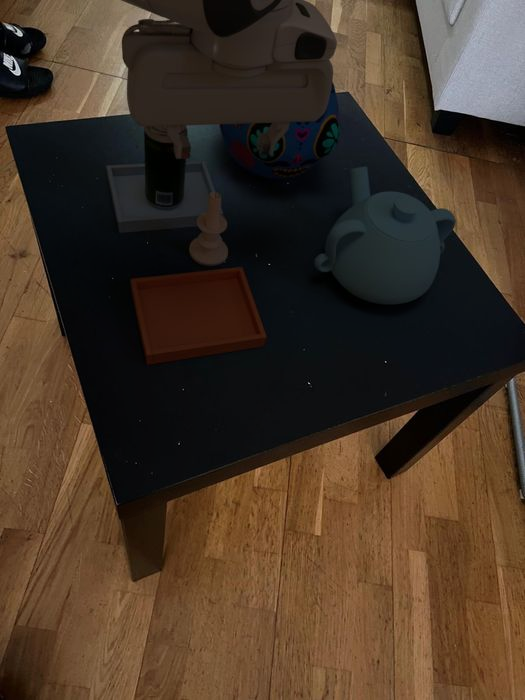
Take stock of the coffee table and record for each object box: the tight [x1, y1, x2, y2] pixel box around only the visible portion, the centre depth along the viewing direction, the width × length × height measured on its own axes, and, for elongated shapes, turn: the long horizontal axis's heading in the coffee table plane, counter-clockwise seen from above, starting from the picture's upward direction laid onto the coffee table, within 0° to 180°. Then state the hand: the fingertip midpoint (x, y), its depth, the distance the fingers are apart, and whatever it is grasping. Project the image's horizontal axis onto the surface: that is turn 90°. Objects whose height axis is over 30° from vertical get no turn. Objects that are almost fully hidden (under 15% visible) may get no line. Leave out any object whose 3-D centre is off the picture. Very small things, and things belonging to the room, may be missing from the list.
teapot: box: [314, 165, 457, 305], centre depth 72 cm, size 20×20×13 cm
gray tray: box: [105, 160, 224, 234], centre depth 76 cm, size 14×11×2 cm
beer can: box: [143, 125, 189, 210], centre depth 71 cm, size 5×5×12 cm
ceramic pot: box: [218, 81, 341, 180], centre depth 79 cm, size 18×18×15 cm
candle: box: [188, 191, 229, 267], centre depth 68 cm, size 5×5×10 cm
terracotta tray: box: [130, 266, 267, 366], centre depth 65 cm, size 14×11×2 cm
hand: (224, 153), depth 59 cm, fingers open, 8 cm apart
